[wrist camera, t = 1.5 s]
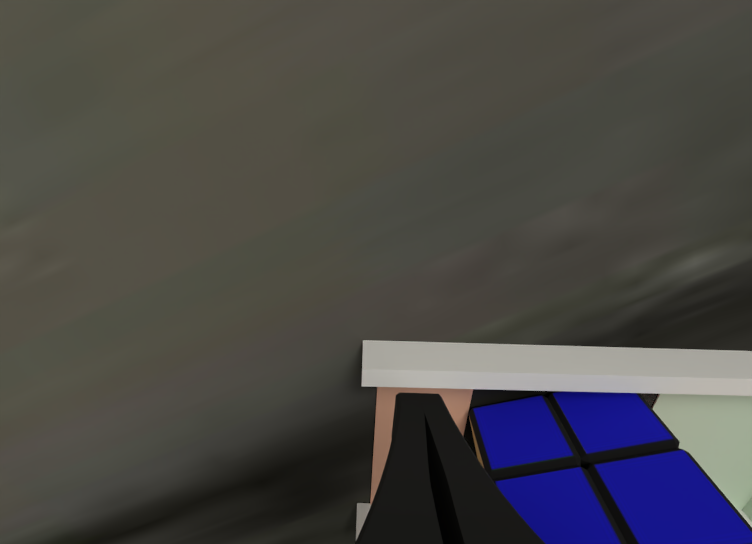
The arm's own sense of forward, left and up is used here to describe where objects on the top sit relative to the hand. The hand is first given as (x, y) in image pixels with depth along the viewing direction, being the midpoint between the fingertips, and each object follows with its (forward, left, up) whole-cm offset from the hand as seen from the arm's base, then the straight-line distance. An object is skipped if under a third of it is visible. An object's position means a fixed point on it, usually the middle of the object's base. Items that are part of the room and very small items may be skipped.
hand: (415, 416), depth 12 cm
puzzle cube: (-13, -11, -10) cm, 19 cm away
